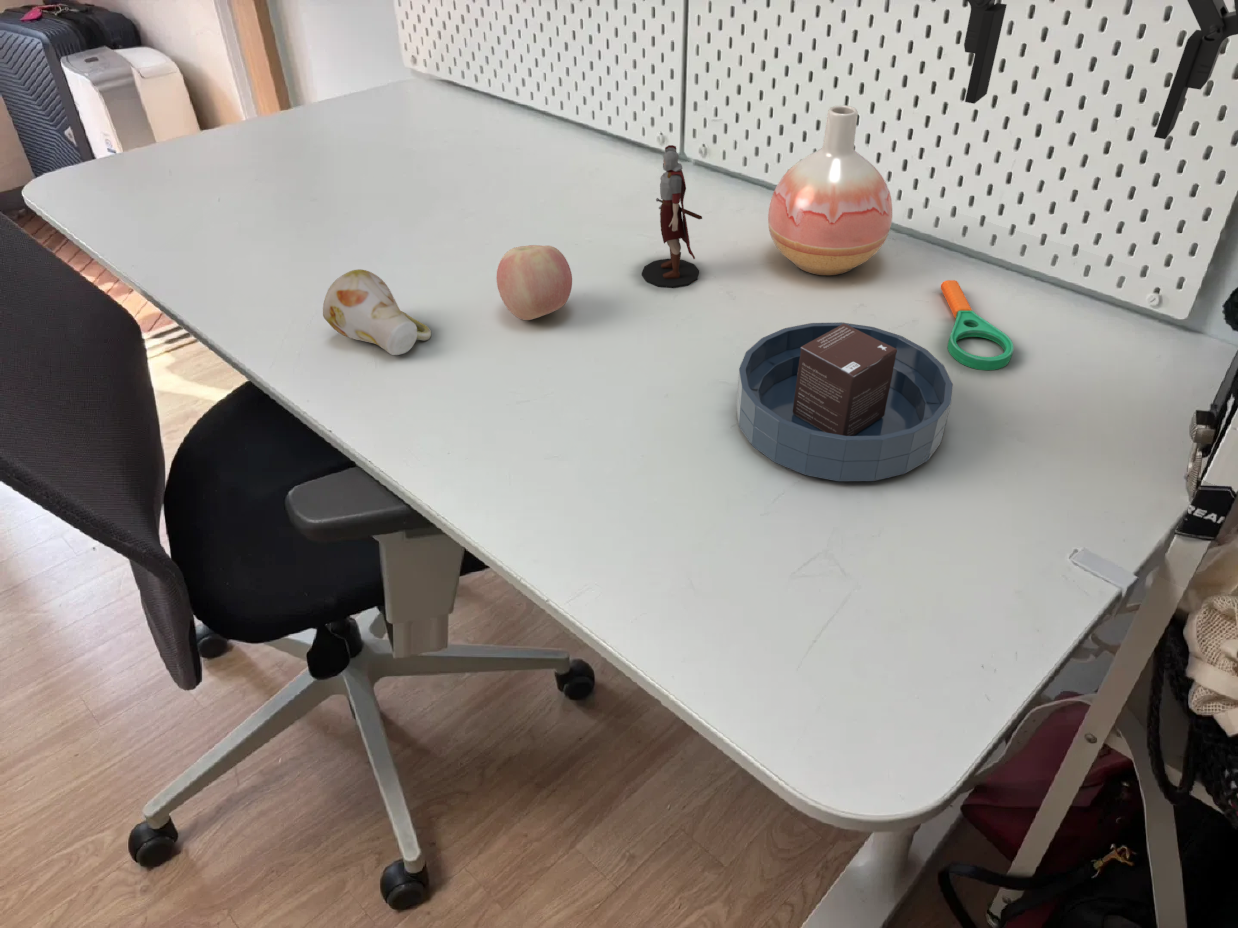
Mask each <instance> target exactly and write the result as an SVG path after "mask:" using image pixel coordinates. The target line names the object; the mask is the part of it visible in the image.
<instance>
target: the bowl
mask: <svg viewBox="0 0 1238 928" xmlns="http://www.w3.org/2000/svg"><path fill="white" fill-rule="evenodd" d="M842 324H846V325H849V326H851V327H853V328H855V329H857V330H859V331H861V332H863V333H865V334H867V335H869V336H871V337H873V338H875V339H877V340H879V341H881V342H883V343H885V344H887V345H890V346H892V347H894V348H896V349H897V353H896V357H895V363H894V368H893V374H892V379H891V383H890V389H889V394H888V399H887V404H886V409H885V414H884V416H883V417H881V418H880V419H878V420H877V421H875V422H874V423H872V424H871V425H869V426H867V427H866V428H864V429H863V430H861V431H860V432H858V433H857V434H855V435H854V436H844V435H838V434H833V433H827V432H824V431H822V430H820V429H819V428H817V427H815V426H814V425H812V424H810V423H808V422H806V421H804V420H803V419H801V418H799V417H797V416H796V415H794V413H793V405H794V397H795V390H796V381H797V374H798V366H799V359H800V353H801V347H802V346H803V345H805V344H807V343H809V342H811V341H813V340H815V339H816V338H818V337H820V336H822V335H824V334H826V333H827V332H829V331H831V330H833V329H835V328H837V327H838V326H840V325H842ZM953 386H954V384H953V381H952V380H951V378H950V376H949V373H948V371H947V369H946V367H945V365H944V364H943V363H942V362H940V360H938V358H936V357H935V356H934V355H933V354H932V353H931V352H930V351H929V350H928V349H927V348H925V347H923V346H921V345H919V344H917V343H916V342H913V341H911V339H909V338H906V337H905V336H904V335H903V336H902V335H900V334H896V333H895V332H894V333H893V332H890V331H888V330H884V329H880V328H877V327H875V326H871V325H869V326H868V325H863V324H856V323H849V322H839V321H838V322H810V323H805V324H799V325H794V326H789V327H785V328H781V329H779V330H776V331H775V332H772V333H769V334H768V335H765V336H764V337H761V338H760V339H759V340H758V341H757V342H756V343H754V344H753V345H752V346H751V347H750V348H749V349H748V350H747V351H746V352H745V353H744V356H743V358H742V361H741V363H740V365H739V367H738V380H737V391H736V405H735V410H736V416H737V422H738V427H739V429H740V430H741V432H742V434H743V435H744V436H745V438H746V439H747V441H748V443H750V445H751V446H752V447H753V448H754V449H756V450H757V451H759V453H761V454H763V455H764V456H765V457H766V458H767V459H769V460H771V461H772V462H773V463H775V464H777V465H780V466H783V467H785V468H787V469H789V470H792V471H794V472H797V473H799V474H802V475H804V476H809V477H814V478H818V479H823V480H830V481H835V482H875V481H881V480H884V479H885V480H886V479H888V478H893V477H897V476H901V475H905V474H907V473H909V472H910V471H912V470H914V469H916V468H917V467H919V466H921V465H923V464H924V463H926V462H928V461H929V460H930V458H931V457H932V456H933V454H934V453H935V451H936V450H937V449H938V448H939V446H940V445H941V443H942V440H943V436H944V434H945V433H944V432H945V428H946V425H947V420H948V416H949V412H950V409H951V405H952V396H953V388H954V387H953Z"/></svg>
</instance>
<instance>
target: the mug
mask: <svg viewBox="0 0 1238 928" xmlns="http://www.w3.org/2000/svg"><path fill="white" fill-rule="evenodd" d="M322 317H323V319H324V320H325V322H327V323H328V324H329V326H330V327H331V328H332V329H333V330H335V332H337V333H339V334H340V335H342V336H344V337H345V338H346V337H347V338H350V339H352V340H357V341H362V342H366V343H370V344H374V345H377V346H378V347H380V348H381V349H383V350H384V351H385V352H387V354H390V355H393V356H399V355H404V354H406V353H408V352H409V351H410V350H411V349H412V348H413V347H414V345H415V343H416V341H417V340H419V341H424V342H425V341H428V340H429V339H430V338H431V337H432V331H431V329H430V328H429V326H427V325H426V324H424V323H422V322H420V321H419V320H417V319H415V318H413V317H412V316H410V315H408V314H407V313H406V312H404V311H403V310H401V309H400V307H399V305H398V303H397V301H396V299H395V297H394V295H393V293H392V291H391V290H390V288H389V287H388V285H387V284H386V282H385V281H384V280H383V279H382V278H381V277H380V276H378V275H377V274H375V273H373V272H371V271H369V270H367V269H353V270H350V271H347V272H345V273H344V274H342V275H340V276H339V277H338V278H336V279H335V280H334V281H333V282H332V283H331V284H330V286H329V287H328V289H327V291H326V294H325V297H324V300H323V304H322Z"/></svg>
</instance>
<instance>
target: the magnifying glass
mask: <svg viewBox="0 0 1238 928" xmlns="http://www.w3.org/2000/svg"><path fill="white" fill-rule="evenodd" d="M940 289H941V292H942V294H943V296H944V298H945V300H946V302H947V304H948V306H949V309H950V311H951V313H952V316H953V317H954V318H955V322H954V325H953V327H952V330H951V333H950V335H949V339H948V342H947V351H948V353H949V355H950V356H951V358H953V359H954V360H956V361H957V362H958V363H960V364H962V365H963V366H966V367H968V368H970V369H974V370H979V371H994V370H995V371H996V370H999V369H1002V368H1004V367H1006V366H1008V364H1009V363H1010V361H1011V358H1012V356H1013V353H1014V347H1015V346H1014V343H1013V340H1012V339H1011V338H1010V337H1009V336H1008V335H1007V334H1006V333H1005V332H1003V330H1000V329H999V328H997V326H994V325H993V324H992V323H990V322H989V321H987V320H986V319H984V318H983V317H981V316H980V315H979V314H977V313H976V312H975V311H974V310H973V309H972V307H971V305H970V303H969V301H968V299H967V297H966V295H965V293H964V292H963V289H962V287H961V286H960V284H959V282H958V281H957V280H955V279H950V280H949V279H947V280H944V281H942V282H941V284H940ZM970 337H973V338H974V337H975V338H983V339H987V340H989V341H992V342H994V343H996V344H998V345H999V346H1000V347H1001V348H1002V349H1003V353H1001V354H999V355H995V356H980V355H975V354H973V353H970V352H968V351H966V350H964V349H963V348H961V347H960V346H959V345H958V343H957V342H958V341H959V340H961V339H964V338H970Z"/></svg>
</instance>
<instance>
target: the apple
mask: <svg viewBox="0 0 1238 928" xmlns="http://www.w3.org/2000/svg"><path fill="white" fill-rule="evenodd" d="M496 287H497V290H498V293H499V296H500V298H501V300H502V303H503V304H504V306H505V307H506V308H507V310H508V311H509V312H510V314H512V315H513V316H514V317H516V318H518V319H520V320H522V321H523V320H524V321H531V320H535V319H538V318H540V317H543V316H547V315H549V314H551V313H553V312H555V311H558V310H560V309H562V308H563V307H564V306H565V305H566V303H567V302H568V300H569V298H570V296H571V293H572V289H573V273H572V270H571V267H570V264H569V262H568V260H567V257H565V255H564V253H562V252H561V251H560V249H558V248H557V247H554V246H553V245H539V244H538V245H537V244H531V245H530V244H529V245H521V246H516V247H513V248H511V249H509V250H508V251H506V252H505V253H504V255H502V257H501V259H500V261H499V263H498V265H497V269H496Z"/></svg>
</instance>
